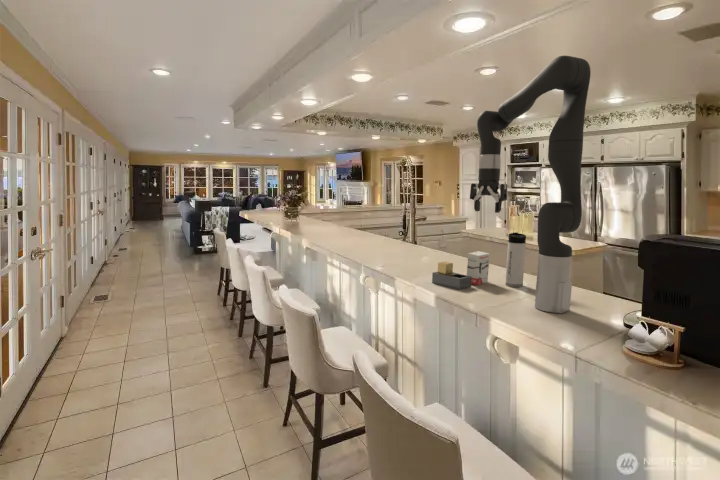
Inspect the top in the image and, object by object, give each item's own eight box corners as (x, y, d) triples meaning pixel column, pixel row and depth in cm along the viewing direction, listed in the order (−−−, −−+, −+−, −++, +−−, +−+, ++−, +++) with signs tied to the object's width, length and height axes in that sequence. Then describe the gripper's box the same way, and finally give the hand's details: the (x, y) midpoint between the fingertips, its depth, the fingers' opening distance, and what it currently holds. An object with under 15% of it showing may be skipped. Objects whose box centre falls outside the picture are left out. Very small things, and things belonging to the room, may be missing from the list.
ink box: (477, 285, 157) (478, 255, 155) (465, 283, 160) (467, 253, 158) (488, 282, 163) (490, 252, 161) (477, 279, 166) (478, 250, 164)
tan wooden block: (452, 283, 160) (452, 263, 158) (445, 284, 157) (446, 264, 156) (444, 281, 163) (444, 261, 162) (437, 282, 160) (438, 262, 159)
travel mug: (519, 283, 161) (523, 232, 158) (524, 287, 154) (528, 234, 152) (503, 282, 162) (506, 232, 159) (507, 287, 155) (511, 234, 152)
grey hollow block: (470, 286, 155) (471, 276, 154) (459, 289, 150) (459, 279, 150) (443, 280, 165) (444, 270, 164) (432, 282, 160) (432, 272, 160)
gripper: (512, 167, 148) (510, 212, 150) (478, 168, 158) (476, 210, 161) (501, 167, 143) (498, 213, 145) (467, 167, 154) (465, 211, 156)
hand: (487, 211), depth 153 cm, fingers open, 8 cm apart
